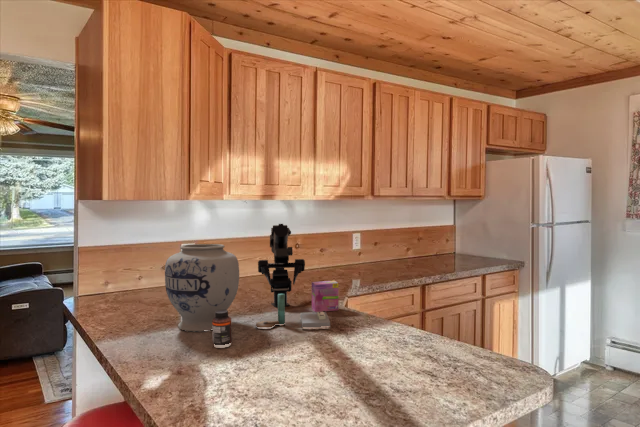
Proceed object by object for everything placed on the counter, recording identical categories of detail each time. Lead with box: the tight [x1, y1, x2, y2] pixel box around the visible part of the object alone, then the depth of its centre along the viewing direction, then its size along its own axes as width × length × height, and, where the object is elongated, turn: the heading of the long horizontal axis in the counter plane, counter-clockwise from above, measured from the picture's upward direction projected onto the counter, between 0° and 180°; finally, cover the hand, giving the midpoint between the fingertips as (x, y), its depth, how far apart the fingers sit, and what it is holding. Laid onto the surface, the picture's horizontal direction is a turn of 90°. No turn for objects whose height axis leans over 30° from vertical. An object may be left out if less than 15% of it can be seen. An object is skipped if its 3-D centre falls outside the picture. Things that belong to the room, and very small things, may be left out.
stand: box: [299, 311, 331, 328], centre depth 161 cm, size 14×10×5 cm
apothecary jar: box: [164, 243, 240, 332], centre depth 161 cm, size 27×27×30 cm
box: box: [311, 280, 340, 312], centre depth 182 cm, size 10×6×12 cm, turn 105°
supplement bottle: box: [212, 309, 233, 345], centre depth 138 cm, size 6×6×11 cm
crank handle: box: [255, 294, 286, 327], centre depth 158 cm, size 7×11×12 cm, turn 96°
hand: (282, 284), depth 170 cm, fingers open, 9 cm apart
